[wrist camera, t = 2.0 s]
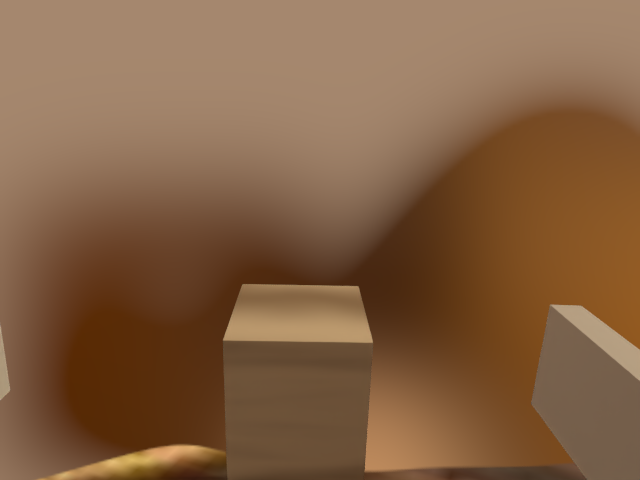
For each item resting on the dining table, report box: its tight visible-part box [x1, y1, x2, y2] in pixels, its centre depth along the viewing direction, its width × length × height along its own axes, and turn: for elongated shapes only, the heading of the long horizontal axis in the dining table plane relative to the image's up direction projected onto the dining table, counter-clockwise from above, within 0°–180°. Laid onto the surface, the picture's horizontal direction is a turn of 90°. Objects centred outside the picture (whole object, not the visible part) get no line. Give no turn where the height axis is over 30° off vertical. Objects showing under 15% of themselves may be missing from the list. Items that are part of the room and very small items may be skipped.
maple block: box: [223, 284, 373, 480], centre depth 24 cm, size 6×6×12 cm
